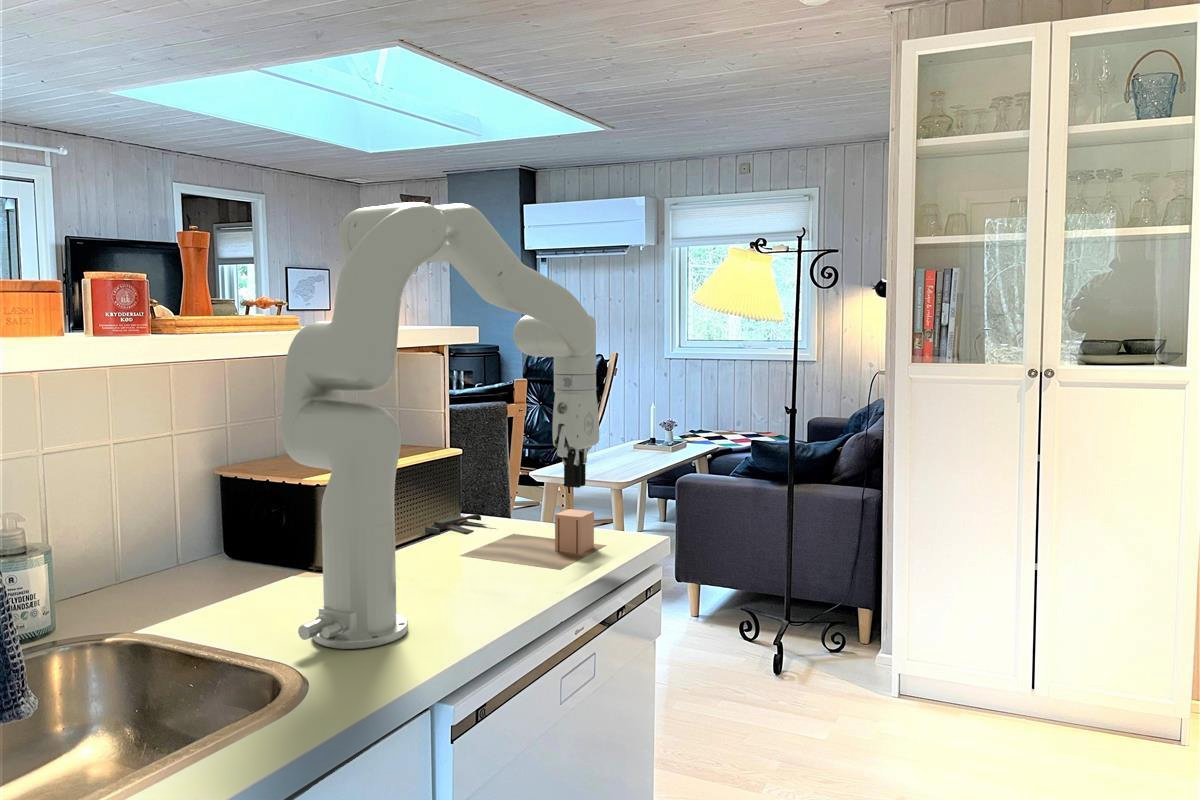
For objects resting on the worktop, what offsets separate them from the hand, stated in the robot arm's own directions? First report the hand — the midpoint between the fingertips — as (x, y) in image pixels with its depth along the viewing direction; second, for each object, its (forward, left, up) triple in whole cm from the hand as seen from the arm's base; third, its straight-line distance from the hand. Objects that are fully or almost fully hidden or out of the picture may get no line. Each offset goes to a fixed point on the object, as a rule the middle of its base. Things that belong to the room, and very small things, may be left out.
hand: (574, 485), depth 159 cm
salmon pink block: (0, 0, -12) cm, 12 cm away
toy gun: (+8, +28, -14) cm, 32 cm away
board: (-4, +6, -13) cm, 15 cm away
